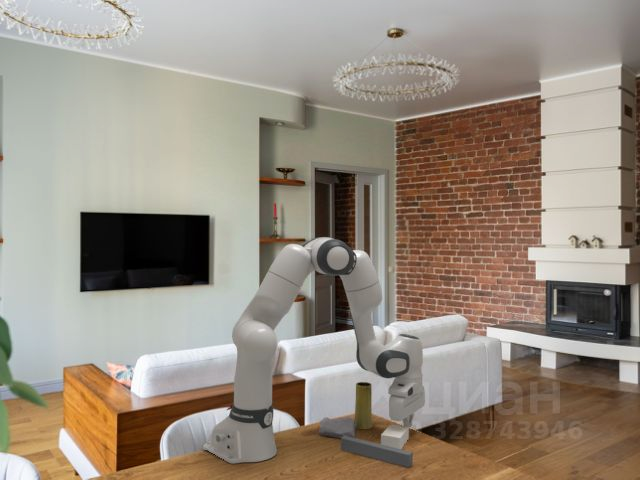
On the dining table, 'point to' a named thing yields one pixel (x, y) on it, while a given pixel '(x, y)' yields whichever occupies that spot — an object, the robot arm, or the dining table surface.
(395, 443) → the offwhite block
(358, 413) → the vase
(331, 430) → the stone block
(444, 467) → the dining table surface
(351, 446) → the charcoal board
